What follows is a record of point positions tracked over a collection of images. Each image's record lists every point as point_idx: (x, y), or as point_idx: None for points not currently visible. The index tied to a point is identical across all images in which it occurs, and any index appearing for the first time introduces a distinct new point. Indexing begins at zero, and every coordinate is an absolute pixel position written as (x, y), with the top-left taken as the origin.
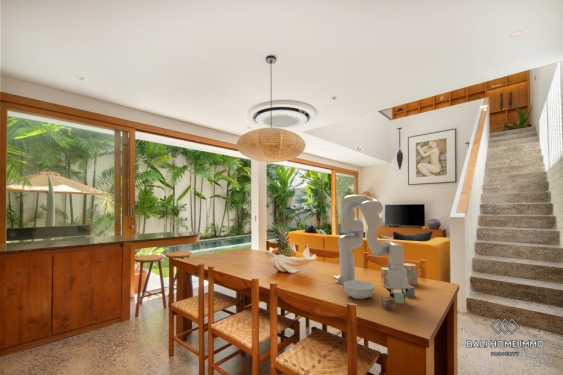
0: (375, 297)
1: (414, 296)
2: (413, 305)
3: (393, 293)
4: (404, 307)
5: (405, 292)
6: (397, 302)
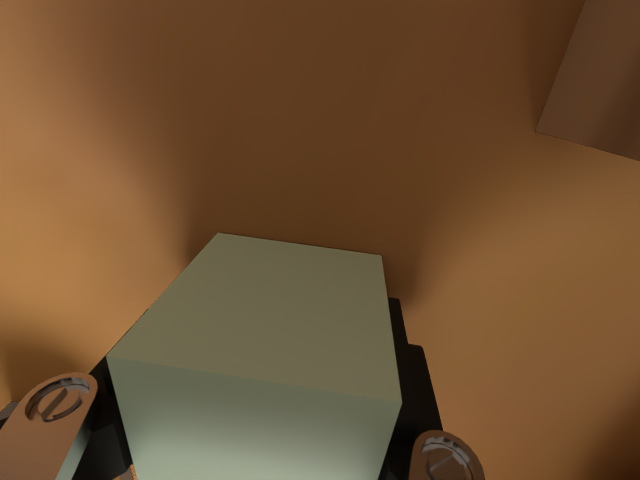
0: (525, 465)
1: (12, 403)
2: (88, 122)
3: (384, 435)
4: (302, 30)
5: (39, 406)
6: (333, 254)
